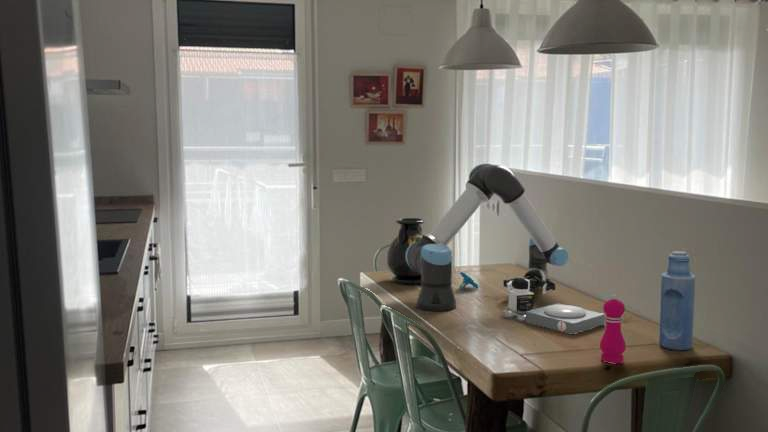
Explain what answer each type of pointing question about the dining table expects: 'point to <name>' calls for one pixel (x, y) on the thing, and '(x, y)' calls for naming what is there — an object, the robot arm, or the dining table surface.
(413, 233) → the amphora vase
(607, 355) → the pepper mill
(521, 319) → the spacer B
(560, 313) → the scale
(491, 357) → the dining table surface
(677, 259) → the bottle
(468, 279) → the gear
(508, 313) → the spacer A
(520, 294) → the medicine bottle
